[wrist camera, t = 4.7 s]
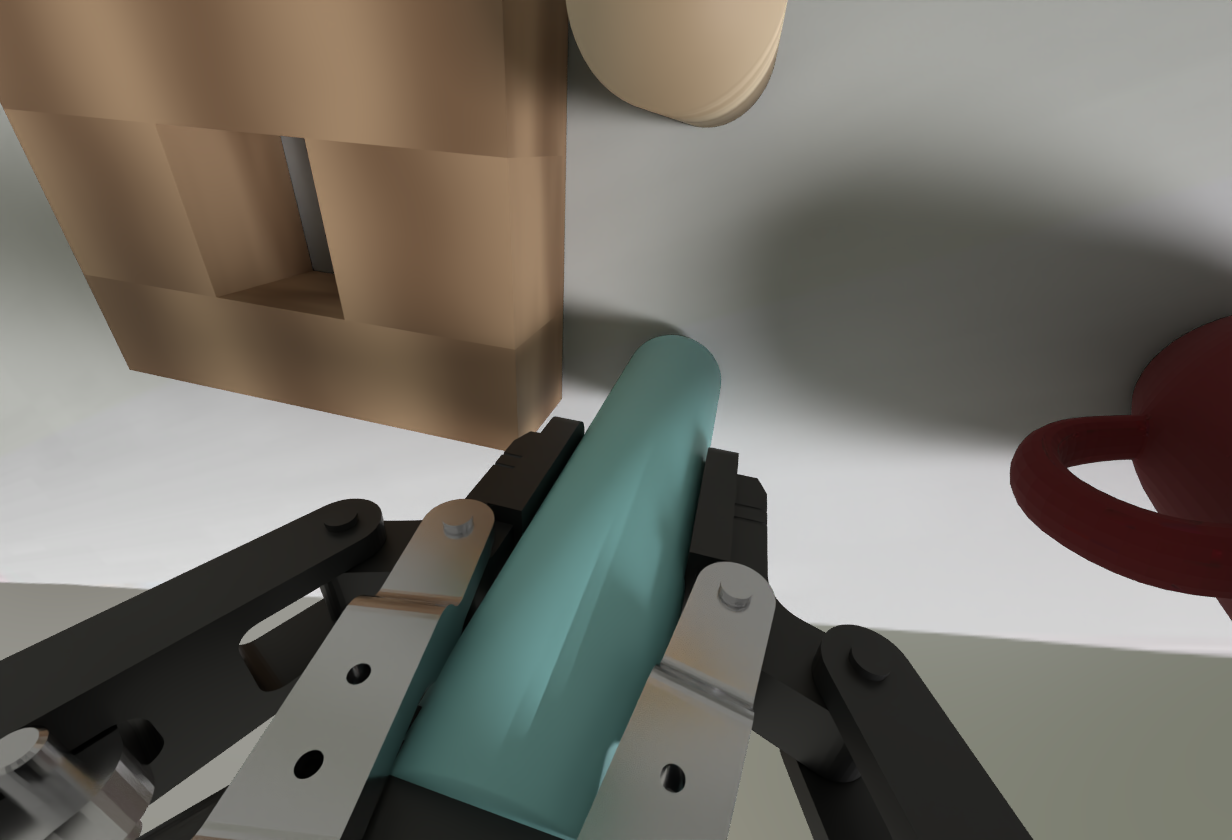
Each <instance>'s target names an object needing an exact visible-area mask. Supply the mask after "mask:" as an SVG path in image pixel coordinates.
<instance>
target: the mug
mask: <svg viewBox="0 0 1232 840" xmlns="http://www.w3.org/2000/svg"><path fill="white" fill-rule="evenodd" d="M1111 460H1132V461H1133V464H1134V467H1135V470H1136V473H1137V475H1138V478H1139V480H1140V482H1141V485H1142V487H1143V489H1144V491H1145V492H1146V494H1147V496H1148V497H1149V499H1150V501H1151V502H1152V504H1153V506H1154V507H1155V509H1156V510H1157V512H1158V513H1156V512H1153V511H1150V510H1146V509H1143V508H1140V507H1137V506H1135V505H1132V504H1129V503H1127V502H1124V501H1122V500H1119V499H1117V498H1115V497H1112V496H1110V495H1108V494H1106V493H1104V492H1102V491H1100V490H1098V489H1096V488H1094V487H1092V486H1091V485H1089V484H1087V483H1085V482H1084V481H1082V480H1080V479H1079V478H1078V477H1076V476H1075V475H1074V474H1072V473H1071V472H1070V471H1069V470H1068V469H1067V468H1068V467H1072V466H1076V465H1081V464H1087V463H1094V462H1101V461H1111ZM1010 485H1011V488H1012V491H1013V494H1014V496H1015V498H1016V501H1017V503H1018V505H1019V506H1020V508H1021V509H1022V510H1023V512H1024V513H1025V514H1026V516H1027V517H1028V518H1029V519H1030V520H1031V521H1032V522H1033V523H1034V524H1036V525H1037V526H1038V527H1039V528H1040V529H1041V530H1042V531H1043V532H1045V533H1046V534H1047V535H1049V536H1050V537H1052V538H1053V539H1054V540H1056V541H1057V542H1059V543H1060V544H1062V545H1063V546H1064V547H1066V548H1068V549H1069V550H1071V551H1073V552H1075V553H1076V554H1078V555H1080V556H1082V557H1083V558H1085V559H1087V560H1088V561H1091V562H1093V563H1095V564H1097V565H1099V566H1101V567H1103V568H1105V569H1107V570H1109V571H1112V572H1114V573H1116V574H1119V575H1122V576H1124V577H1127V578H1129V579H1132V580H1135V581H1137V582H1140V583H1144V584H1147V585H1151V586H1154V587H1158V588H1161V589H1165V590H1170V591H1175V592H1181V593H1186V594H1191V595H1199V596H1207V597H1216V598H1217V600H1218V601H1219V603H1220V604H1221V606H1222V607H1223V609H1224V610H1225V612H1226V613H1227V614H1228V616H1229V617H1230V619H1231V620H1232V315H1231V316H1228V317H1225V318H1221V319H1219V320H1216V321H1213V322H1211V323H1208V324H1205V325H1203V326H1201V327H1199V328H1197V329H1194V330H1192V331H1190V332H1189V333H1187V334H1185V335H1184V336H1182V337H1180V338H1179V339H1177V340H1175V341H1174V342H1172V343H1171V344H1170V345H1168V346H1167V347H1166V348H1165V349H1163V350H1162V351H1161V352H1160V353H1159V354H1158V355H1157V356H1156V357H1155V358H1153V360H1152V361H1151V362H1150V363H1149V365H1148V366H1147V367H1146V368H1145V369H1144V371H1143V372H1142V374H1141V376H1140V378H1139V380H1138V382H1137V384H1136V386H1135V389H1134V392H1133V396H1132V408H1131V415H1113V416H1090V417H1078V418H1071V419H1065V420H1060V421H1056V422H1053V423H1050V424H1048V425H1046V426H1043V427H1041V428H1039V429H1037V430H1035V431H1033V432H1032V433H1031V434H1029V435H1028V436H1027V437H1026V438H1025V439H1024V440H1023V441H1022V442H1021V444H1020V445H1019V446H1018V448H1017V450H1016V452H1015V454H1014V457H1013V459H1012V461H1011V467H1010Z"/></svg>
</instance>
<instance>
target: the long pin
mask: <svg viewBox="0 0 1232 840" xmlns="http://www.w3.org/2000/svg"><path fill="white" fill-rule="evenodd" d="M720 388H721V374H720V370H719V366H718V364H717V362H716V360H715V358H714V357H713V355H712V354H711V353H710V352H709V351H708V350H707V349H706V348H705V347H704V346H703V345H701V344H700V343H698V342H696V341H694V340H693V339H690V338H687V337H683V336H678V335H665V336H659V337H656V338H653V339H651V340H649V341H647V342H646V343H644V344H643V345H642V346H640V347H639V348H638V349H637V351H636V352H635V353H634V355H633V356H632V358H631V359H630V361H629V363H628V364H627V366H626V368H625V369H624V371H623V372H622V374H621V376H620V377H619V379H618V381H617V382H616V384H615V385H614V387H613V389H612V390H611V392H610V394H609V395H608V397H607V398H606V400H605V402H604V403H603V405H602V407H601V408H600V410H599V412H598V413H597V415H596V416H595V418H594V420H593V421H592V423H591V425H590V426H589V428H588V429H587V431H586V433H585V434H584V436H583V438H582V439H581V441H580V442H579V444H578V446H577V447H576V449H575V451H574V452H573V454H572V456H571V457H570V459H569V460H568V462H567V464H566V465H565V467H564V469H563V470H562V472H561V473H560V475H559V477H558V478H557V480H556V482H555V483H554V485H553V486H552V488H551V490H550V491H549V493H548V495H547V496H546V498H545V499H544V501H543V503H542V504H541V506H540V508H539V509H538V511H537V513H536V514H535V516H534V517H533V519H532V521H531V522H530V524H529V526H528V527H527V529H526V530H525V532H524V534H523V535H522V537H521V539H520V540H519V542H518V543H517V545H516V547H515V548H514V550H513V552H512V553H511V555H510V557H509V558H508V560H507V561H506V563H505V565H504V566H503V568H502V570H501V571H500V573H499V574H498V576H497V578H496V579H495V581H494V583H493V584H492V586H491V587H490V589H489V591H488V592H487V594H486V596H485V597H484V599H483V601H482V602H481V604H480V605H479V607H478V609H477V610H476V612H475V614H474V615H473V617H472V618H471V620H470V622H469V623H468V625H467V627H466V628H465V630H464V631H463V633H462V635H461V637H460V638H459V640H458V642H457V643H456V645H455V647H454V649H453V650H452V652H451V654H450V656H449V657H448V659H447V661H446V663H445V665H444V667H443V669H442V671H441V673H440V675H439V676H438V678H437V680H436V682H434V683H433V684H432V685H431V686H430V687H429V689H428V690H427V692H426V693H425V695H424V697H423V698H422V700H421V702H420V703H419V706H422V709H421V710H420V712H419V714H418V715H417V717H416V719H415V720H414V722H413V724H412V725H411V727H410V729H409V730H408V732H407V734H406V735H405V737H404V739H403V740H405V741H404V743H403V745H402V747H401V749H400V751H399V753H398V755H397V757H396V759H395V761H394V763H393V766H392V768H391V771H390V773H389V775H392V776H395V777H397V778H400V779H403V780H405V781H408V782H411V783H414V784H416V785H419V786H422V787H424V788H427V789H430V790H432V791H435V792H438V793H441V794H443V795H446V796H449V797H451V798H454V799H457V800H459V801H462V802H465V803H467V804H470V805H473V806H476V807H478V808H481V809H484V810H486V811H489V812H492V813H494V814H497V815H500V816H502V817H505V818H508V819H511V820H513V821H516V822H519V823H521V824H524V825H527V826H529V827H532V828H535V829H537V830H540V831H543V832H546V833H548V834H551V835H554V836H556V837H559V838H562V839H564V840H577V838H578V836H579V834H580V831H581V829H582V827H583V824H584V822H585V820H586V818H587V815H588V813H589V811H590V809H591V806H592V804H593V802H594V800H595V797H596V795H597V793H598V790H599V788H600V786H601V784H602V781H603V779H604V777H605V775H606V772H607V770H608V768H609V766H610V763H611V761H612V759H613V756H614V754H615V752H616V750H617V747H618V745H619V743H620V741H621V738H622V736H623V734H624V732H625V729H626V727H627V725H628V722H629V720H630V718H631V716H632V713H633V711H634V709H635V707H636V704H637V702H638V700H639V698H640V695H641V693H642V691H643V688H644V686H645V684H646V682H647V679H648V677H649V675H650V673H651V671H652V669H653V668H654V666H655V665H656V664H657V663H658V664H660V662H661V661H662V659H663V656H664V654H665V652H666V649H667V647H668V645H669V642H670V640H671V638H672V635H673V633H674V631H675V628H676V626H677V624H678V621H679V619H680V617H681V612H682V607H683V601H684V594H685V580H684V576H685V571H686V565H687V560H688V554H689V549H690V543H691V538H692V532H693V527H694V521H695V516H696V510H697V505H698V499H699V494H700V488H701V483H702V477H703V472H704V466H705V461H706V456H707V451H708V447H710V445H711V440H712V434H713V428H714V422H715V417H716V411H717V405H718V399H719V394H720Z"/></svg>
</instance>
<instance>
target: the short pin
mask: <svg viewBox="0 0 1232 840" xmlns="http://www.w3.org/2000/svg"><path fill="white" fill-rule="evenodd" d="M787 1H788V0H566V6H567V12H568V17H569V21H570V25H571V29H572V32H573V35H574V38H575V41H576V43H577V45H578V48H579V50H580V52H581V54H582V56H583V58H584V60H585V61H586V63H587V65H588V66H589V68H590V69H591V71H592V72H593V73H594V75H595V76H596V77H597V78H598V80H599V81H600V82H601V83H602V84H603V85H604V86H605V87H606V88H607V89H608V90H609V91H610V92H612V93H613V94H615V95H616V96H617V97H619V98H620V99H622V100H623V101H625V102H627V103H629V104H631V105H633V106H636V107H639V108H642V109H645V110H648V111H651V112H654V113H657V114H660V115H663V116H666V117H669V118H672V119H675V120H678V121H681V122H684V123H687V124H690V125H693V126H697V127H717V126H721V125H724V124H727V123H729V122H732V121H734V120H735V119H737V118H739V117H740V116H742V115H743V114H744V113H745V112H747V111H748V110H749V109H750V108H751V107H752V106H753V105H754V104H755V102H756V101H757V100H758V99H759V97H760V96H761V94H762V93H763V91H764V89H765V88H766V86H767V84H768V82H769V80H770V77H771V74H772V72H773V69H774V65H775V61H776V56H777V51H778V46H779V41H780V36H781V31H782V26H783V21H784V16H785V11H786V6H787Z"/></svg>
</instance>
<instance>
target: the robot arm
mask: <svg viewBox="0 0 1232 840" xmlns="http://www.w3.org/2000/svg"><path fill="white" fill-rule="evenodd" d="M583 436H584V424H583V422H581V421H576V420H571V419H566V418H561V417H556V416H555V417H553V418H552V419H551V420H550V421H549V423H548V424H547V425H546V427H545V428H544V429H543V431H542V432H541V433H537V432H532V431H530V432H528V433H526V434H524V435H523V436H521V437H519V438H517V439H515V440H514V441H513V442H512V443H511V444H510V446H509V447H508V448H507V449H506V450H505V452H504V455H501V456H500V458H499V459H498V460H497V461H496V463H495V465H493V466H492V467H491V468H490V469H489V471H488V472H487V473H486V474H485V475H484V477H483V478H482V479H481V480H480V481H479V483H478V484H477V485H476V486H475V487H474V489H473V490H472V491H471V492H470V493H469V494H468V496H467V497H466V498H465V499H457V500H452V501H448V502H445V503H443V504H440V505H438V506H437V507H435V508H433V509H432V510H431V511H430V512H429V513H427V514H426V516H425V517H424V519H423V520H416V521H383V516H382V512H381V509H380V507H379V506H378V505H377V504H375V503H374V502H372V501H369V500H365V499H346V500H341V501H337V502H334V503H331V504H328V505H326V506H324V507H322V508H320V509H317V510H315V511H313V512H311V513H309V514H307V515H305V516H303V517H301V518H299V519H296V520H294V521H292V522H290V523H288V524H286V525H284V526H282V527H280V528H278V529H276V530H273V531H271V532H269V533H267V534H265V535H263V536H261V537H259V538H257V539H255V540H252V541H250V542H248V543H246V544H244V545H242V546H240V547H238V548H236V549H234V550H231V551H229V552H227V553H225V554H223V555H221V556H219V557H217V558H215V559H213V560H210V561H208V562H206V563H204V564H202V565H200V566H198V567H196V568H194V569H192V570H190V571H187V572H185V573H183V574H181V575H179V576H177V577H175V578H173V579H171V580H169V581H166V582H164V583H162V584H160V585H158V586H156V587H154V588H152V589H150V590H148V591H145V592H143V593H141V594H139V595H137V596H135V597H133V598H131V599H129V600H127V601H125V602H122V603H120V604H118V605H116V606H115V607H112V608H110V609H108V610H106V611H104V612H101V613H99V614H97V615H95V616H93V617H91V618H89V619H87V620H85V621H83V622H80V623H78V624H76V625H74V626H72V627H70V628H68V629H66V630H64V631H62V632H60V633H57V634H56V635H53V636H51V637H49V638H47V639H45V640H43V641H41V642H39V643H36V644H34V645H32V646H30V647H28V648H26V649H24V650H22V651H20V652H18V653H15V654H14V655H11V656H9V657H7V658H5V659H3V660H1V661H0V840H564V839H562V838H559V837H556V836H554V835H551V834H548V833H546V832H543V831H540V830H537V829H535V828H532V827H529V826H527V825H524V824H521V823H519V822H516V821H513V820H511V819H508V818H505V817H502V816H500V815H497V814H494V813H492V812H489V811H486V810H484V809H481V808H478V807H476V806H473V805H470V804H467V803H465V802H462V801H459V800H457V799H454V798H451V797H449V796H446V795H443V794H441V793H438V792H435V791H432V790H430V789H427V788H424V787H422V786H419V785H416V784H414V783H411V782H408V781H405V780H403V779H400V778H397V777H395V776H392V775H389V773H390V771H391V768H392V766H393V763H394V761H395V759H396V757H397V755H398V753H399V751H400V749H401V747H402V745H403V743H404V741H405V740H403V739H404V737H405V735H406V734H407V732H408V730H409V729H410V727H411V725H412V724H413V722H414V720H415V719H416V717H417V715H418V714H419V712H420V710H421V709H422V706H419V703H420V702H421V700H422V698H423V697H424V695H425V693H426V692H427V690H428V689H429V687H430V686H431V685H432V684H433V683H434V682H436V680H437V678H438V676H439V675H440V673H441V671H442V669H443V667H444V665H445V663H446V661H447V659H448V657H449V656H450V654H451V652H452V650H453V649H454V647H455V645H456V643H457V642H458V640H459V638H460V637H461V635H462V633H463V631H464V630H465V628H466V627H467V625H468V623H469V622H470V620H471V618H472V617H473V615H474V614H475V612H476V610H477V609H478V607H479V605H480V604H481V602H482V601H483V599H484V597H485V596H486V594H487V592H488V591H489V589H490V587H491V586H492V584H493V583H494V581H495V579H496V578H497V576H498V574H499V573H500V571H501V570H502V568H503V566H504V565H505V563H506V561H507V560H508V558H509V557H510V555H511V553H512V552H513V550H514V548H515V547H516V545H517V543H518V542H519V540H520V539H521V537H522V535H523V534H524V532H525V530H526V529H527V527H528V526H529V524H530V522H531V521H532V519H533V517H534V516H535V514H536V513H537V511H538V509H539V508H540V506H541V504H542V503H543V501H544V499H545V498H546V496H547V495H548V493H549V491H550V490H551V488H552V486H553V485H554V483H555V482H556V480H557V478H558V477H559V475H560V473H561V472H562V470H563V469H564V467H565V465H566V464H567V462H568V460H569V459H570V457H571V456H572V454H573V452H574V451H575V449H576V447H577V446H578V444H579V442H580V441H581V439H582V438H583ZM738 457H739V453H736V452H731V451H726V450H721V449H716V448H710V447H708V451H707V456H706V461H705V466H704V472H703V477H702V483H701V488H700V494H699V499H698V505H697V510H696V516H695V521H694V527H693V532H692V538H691V543H690V549H689V554H688V560H687V565H686V571H685V576H684V580H685V594H684V601H683V607H682V612H681V617H680V619H679V621H678V624H677V626H676V628H675V631H674V633H673V635H672V638H671V640H670V642H669V645H668V647H667V649H666V652H665V654H664V656H663V659H662V661H661V662H660V664H658V663H657V664H656V665H655V666H654V668H653V669H652V671H651V673H650V675H649V677H648V679H647V682H646V684H645V686H644V688H643V691H642V693H641V695H640V698H639V700H638V702H637V704H636V707H635V709H634V711H633V713H632V716H631V718H630V720H629V722H628V725H627V727H626V729H625V732H624V734H623V736H622V738H621V741H620V743H619V745H618V747H617V750H616V752H615V754H614V756H613V759H612V761H611V763H610V766H609V768H608V770H607V772H606V775H605V777H604V779H603V781H602V784H601V786H600V788H599V790H598V793H597V795H596V797H595V800H594V802H593V804H592V806H591V809H590V811H589V813H588V815H587V818H586V820H585V822H584V824H583V827H582V829H581V831H580V834H579V836H578V838H577V840H727V837H728V833H729V828H730V824H731V819H732V815H733V810H734V806H735V801H736V796H737V792H738V788H739V783H740V779H741V774H742V769H743V765H744V761H745V756H746V752H747V747H748V743H749V738H750V734H751V730H753V731H754V732H756V733H757V734H759V735H760V736H762V737H763V738H765V739H766V740H768V741H769V742H770V743H772V744H773V745H775V746H776V747H778V748H779V749H780V752H781V756H782V759H783V762H784V764H785V767H786V769H787V772H788V774H789V777H790V780H791V782H792V785H793V787H794V790H795V792H796V795H797V798H798V800H799V803H800V805H801V808H802V810H803V813H804V816H805V818H806V821H807V823H808V826H809V828H810V831H811V834H812V836H813V839H814V840H1033V839H1032V837H1031V836H1030V835H1029V833H1028V831H1027V830H1026V829H1025V827H1024V826H1023V824H1022V823H1021V821H1020V820H1019V819H1018V817H1017V816H1016V814H1015V813H1014V812H1013V810H1012V809H1011V807H1010V806H1009V804H1008V803H1007V801H1006V800H1005V798H1004V797H1003V796H1002V794H1001V793H1000V791H999V790H998V788H997V787H996V786H995V784H994V783H993V782H992V780H991V778H990V777H989V775H988V774H987V773H986V771H985V770H984V768H983V767H982V765H981V764H980V763H979V761H978V760H977V758H976V757H975V756H974V754H973V753H972V751H971V750H970V748H969V747H968V746H967V744H966V743H965V741H964V740H963V738H962V737H961V735H960V734H959V732H958V731H957V730H956V728H955V727H954V725H953V724H952V723H951V721H950V720H949V718H948V717H947V715H946V714H945V712H944V711H943V710H942V708H941V707H940V705H939V704H938V702H937V701H936V700H935V698H934V697H933V695H932V694H931V692H930V691H929V689H928V688H927V687H926V685H925V684H924V682H923V681H922V679H921V678H920V677H919V675H918V674H917V672H916V671H915V669H914V668H913V666H912V665H911V664H910V662H909V661H908V659H907V658H906V657H905V656H904V654H903V653H902V652H901V651H900V650H899V649H898V648H897V647H896V646H895V645H894V644H893V643H891V642H890V641H889V640H888V639H886V638H885V637H883V636H882V635H880V634H878V633H876V632H874V631H872V630H870V629H867V628H864V627H861V626H857V625H839V626H836V627H833V628H831V629H830V630H828V631H827V632H826V633H825V632H823V631H821V630H819V629H818V628H816V627H814V626H812V625H810V624H808V623H806V622H805V621H803V620H801V619H799V618H798V617H796V616H794V615H793V614H792V613H790V612H789V611H788V610H787V609H786V608H785V607H783V606H782V605H781V603H780V602H779V601H778V600H777V599H776V597H775V595H774V592H773V590H772V588H771V586H770V585H769V582H768V560H767V513H766V512H767V493H766V492H765V490H764V488H763V487H762V485H761V483H760V482H759V480H758V478H753V477H749V476H744V475H739V474H737V469H738ZM319 587H320V589H321V592H322V594H323V597H324V599H322V600H320V601H319V602H317V603H315V604H314V605H312V606H310V607H309V608H307V609H306V610H304V611H302V612H301V613H299V614H297V615H296V616H294V617H292V618H291V619H289V620H287V621H286V622H284V623H282V624H281V625H279V626H277V627H276V628H274V629H272V630H271V631H269V632H268V633H266V634H264V635H263V636H261V637H259V638H258V639H256V640H254V641H252V642H250V643H247V644H244V645H239V643H240V641H241V639H242V637H243V636H244V635H245V634H246V632H247V631H248V630H249V629H251V628H252V627H253V626H255V625H256V624H258V623H259V622H261V621H263V620H264V619H266V618H268V617H269V616H271V615H273V614H274V613H276V612H278V611H280V610H281V609H283V608H285V607H287V606H288V605H290V604H292V603H293V602H295V601H297V600H298V599H300V598H302V597H304V596H305V595H307V594H309V593H310V592H312V591H314V590H316V589H317V588H319ZM275 714H276V715H275ZM274 715H275V716H274ZM272 716H274V718H273V719H272V721H271V722H270V724H269V725H268V727H267V729H266V730H265V731H264V733H263V735H262V736H261V738H260V739H259V741H258V742H257V744H256V745H255V747H254V748H253V750H252V751H251V753H250V754H249V756H248V758H247V759H246V761H245V762H244V764H243V765H242V767H241V768H240V770H239V771H238V773H237V774H236V776H235V777H234V779H233V780H232V782H231V783H230V785H228V786H227V787H225V788H223V789H222V790H220V791H218V792H216V793H214V794H213V795H211V796H209V797H208V798H206V799H204V800H202V801H201V802H199V803H197V804H195V805H194V806H192V807H190V808H188V809H187V810H185V811H183V812H182V813H180V814H178V815H176V816H175V817H173V818H171V819H169V820H168V821H166V822H164V823H163V824H161V825H159V826H157V827H156V828H154V829H152V830H150V831H149V832H147V833H145V834H144V835H142V836H140V834H141V831H142V822H141V821H140V819H141V817H142V816H143V815H144V813H145V811H146V809H147V807H148V806H149V805H150V804H151V803H153V802H154V801H156V800H157V799H158V798H159V797H161V796H163V795H164V794H165V793H167V792H168V791H169V790H171V789H172V788H173V787H175V786H176V785H178V784H179V783H181V782H182V781H183V780H185V779H186V778H188V777H189V776H190V775H192V774H193V773H195V772H196V771H197V770H199V769H200V768H201V767H203V766H204V765H205V764H207V763H208V762H210V761H211V760H213V759H214V758H215V757H217V756H218V755H220V754H221V753H222V752H224V751H225V750H226V749H228V748H229V747H231V746H232V745H233V744H235V743H236V742H238V741H239V740H240V739H242V738H243V737H245V736H246V735H247V734H249V733H250V732H251V731H253V730H254V729H256V728H257V727H258V726H260V725H261V724H263V723H264V722H265V721H267V720H268V719H269V718H271V717H272ZM139 836H140V837H139Z"/></svg>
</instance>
